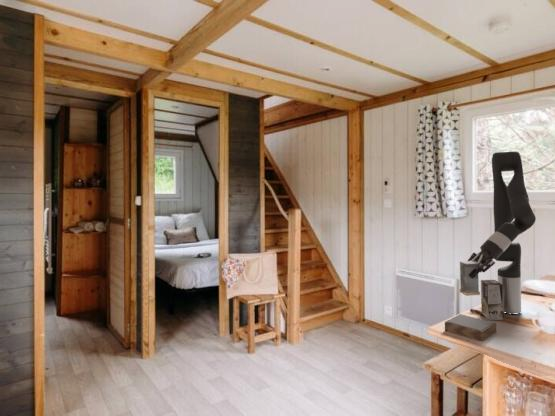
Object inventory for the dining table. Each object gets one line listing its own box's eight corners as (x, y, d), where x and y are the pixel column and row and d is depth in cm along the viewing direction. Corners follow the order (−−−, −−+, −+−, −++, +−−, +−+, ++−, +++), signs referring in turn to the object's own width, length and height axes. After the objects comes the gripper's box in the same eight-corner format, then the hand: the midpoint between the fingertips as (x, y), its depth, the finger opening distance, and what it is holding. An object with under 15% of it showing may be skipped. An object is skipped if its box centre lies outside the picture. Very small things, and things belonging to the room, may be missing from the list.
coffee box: (503, 320, 164) (503, 284, 163) (487, 320, 166) (487, 284, 165) (495, 313, 173) (495, 279, 172) (481, 312, 174) (480, 279, 173)
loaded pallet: (459, 291, 157) (458, 261, 156) (472, 291, 156) (472, 260, 156) (466, 295, 151) (465, 264, 150) (479, 294, 151) (479, 263, 150)
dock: (444, 330, 157) (444, 321, 156) (460, 322, 165) (459, 313, 164) (481, 341, 145) (481, 331, 145) (496, 331, 153) (496, 322, 152)
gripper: (479, 236, 159) (452, 265, 160) (499, 241, 145) (469, 273, 146) (492, 248, 160) (465, 277, 160) (513, 254, 145) (483, 286, 146)
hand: (467, 275), depth 153 cm, fingers closed on loaded pallet, 5 cm apart
